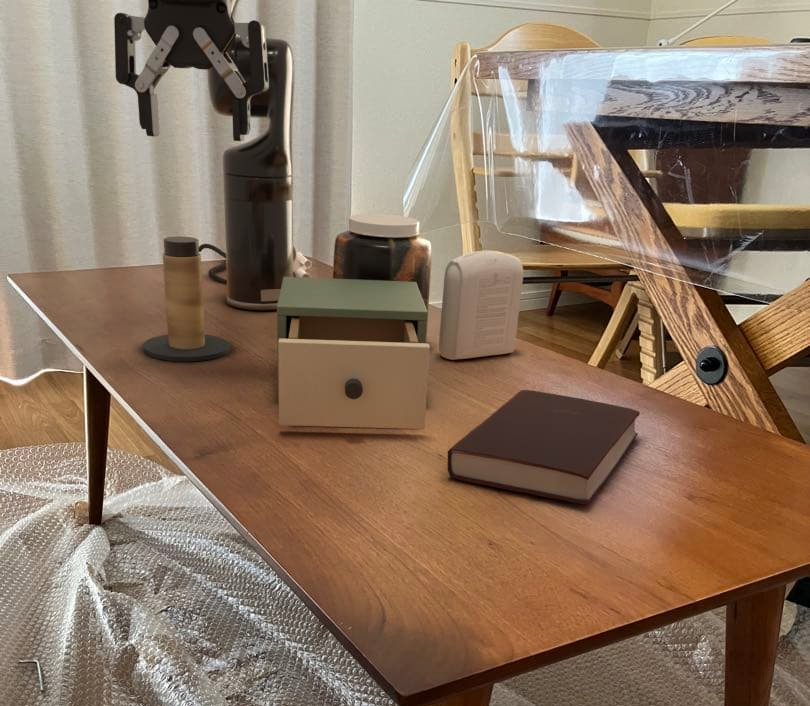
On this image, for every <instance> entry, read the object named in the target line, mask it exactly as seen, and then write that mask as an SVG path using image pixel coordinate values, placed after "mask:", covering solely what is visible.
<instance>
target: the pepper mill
mask: <svg viewBox="0 0 810 706" xmlns="http://www.w3.org/2000/svg"><path fill="white" fill-rule="evenodd" d="M199 246H200V245H199V239H198V238H196V237H192V236H167V237H164V238H163V253H162V262H163V263H162V264H163V265H162V268H163V280H164V297H165V311H166V325H167V327H166V328H167V335H168V342H169V346H170V347H172V348H176V349H183V350H190V349H198V348H201V347H203V346H205V335H206V333H205V332H206V331H205V330H206V329H205V314H204V312H205V311H204V291H203V290H204V289H203V271H202V254H201V252H199Z"/></svg>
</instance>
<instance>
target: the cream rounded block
mask: <svg viewBox="0 0 810 706" xmlns="http://www.w3.org/2000/svg"><path fill="white" fill-rule="evenodd" d="M443 276H444V278H443V289H442V300H441V312H440V326H439V339H438V352H439V354H440V356H441V357H442V358H445V359H447V360H451V361H455V360H456V361H457V360H464V359H473V358H480V357H488V356H497V355H498V356H499V355H505V354H512V353H513V352H514V351H515V347H516V342H517V341H516V339H517V332H518V323H519V313H520V306H521V297H522V291H523V283H524V282H523V281H524V266H523V263H522V261H521V259H520V258H519V257H517V256H515V255H512V254H510V253H506V252H502V251H498V250H487V249H486V250H485V249H483V250H476V251H472V252H471V251H470V252H468V253H465V254H462V255H460V256H458V257H455V258H453V259H452V260H450V261H449V262H448V263H447V265H446V267H445V270H444V275H443Z"/></svg>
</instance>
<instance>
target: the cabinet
mask: <svg viewBox="0 0 810 706" xmlns="http://www.w3.org/2000/svg"><path fill="white" fill-rule="evenodd" d="M292 316H313V317H340V318H368V319H395V320H412V323H413V326H414V329H415V332H416V336H417V339H418V342H419V343H426V344H427V339H426V332H427V333H428V325H427V316H428V317H429V311H428V312H427V309H426V307H425V304H424V301H423V299H422V296H421V294H420V291H419V288H418V286H417V283H416V282H405V281H380V280H355V279H333V278H327V277H311V278H306V277H296V276H293V277H283V281H282V286H281V290H280V295H279V299H278V304H277V310H276V347H277V348H276V349H277V350H276V351H277V352H276V353H277V354H276V355H277V356H276V357H277V358H276V359H277V360H276V361H277V368H276V369H277V370H276V371H277V403H279V366H278V341H279V339H289V331H290V325H291V318H292Z"/></svg>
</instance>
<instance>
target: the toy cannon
mask: <svg viewBox="0 0 810 706" xmlns="http://www.w3.org/2000/svg"><path fill="white" fill-rule="evenodd" d="M301 264H302V266H300V265H301ZM312 266H313V263H312V261H311V260H310V259H308V258H306V257H305V256H304V254H303V253H302V252H300V251H299V250H297V249H296V246H295V245H293V275H294V277H306V278H312V276H311V274H310V273H308V272H306V270H307V269H311V268H312Z"/></svg>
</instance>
